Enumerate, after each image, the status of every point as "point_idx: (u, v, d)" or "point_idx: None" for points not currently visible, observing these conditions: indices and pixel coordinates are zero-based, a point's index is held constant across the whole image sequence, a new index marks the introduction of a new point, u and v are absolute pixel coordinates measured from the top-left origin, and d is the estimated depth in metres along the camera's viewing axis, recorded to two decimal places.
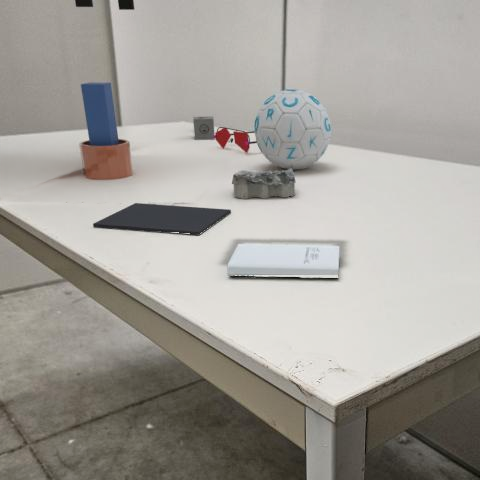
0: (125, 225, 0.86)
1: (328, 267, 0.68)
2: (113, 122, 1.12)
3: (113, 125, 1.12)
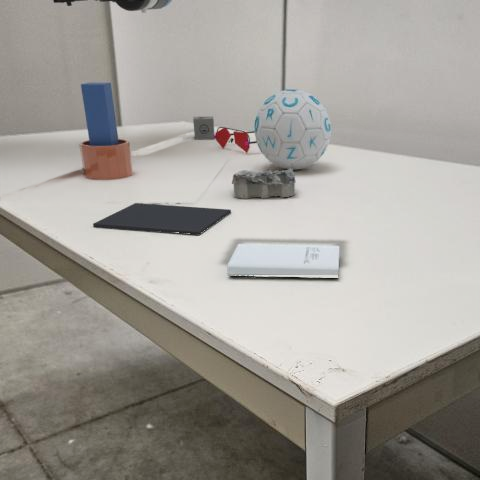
0: (125, 225, 0.86)
1: (328, 267, 0.68)
2: (113, 122, 1.12)
3: (113, 125, 1.12)
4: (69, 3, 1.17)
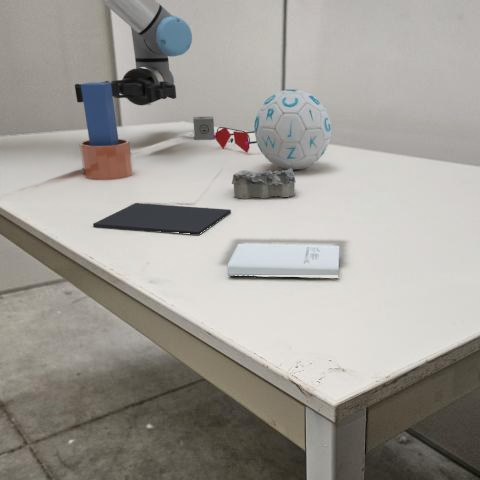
0: (125, 225, 0.86)
1: (328, 267, 0.68)
2: (113, 122, 1.12)
3: (113, 125, 1.12)
4: None
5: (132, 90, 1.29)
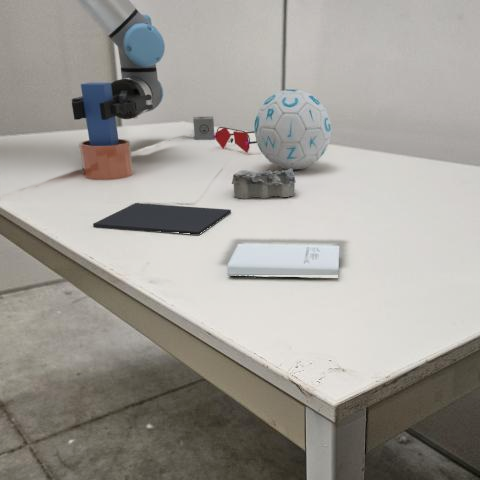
0: (125, 225, 0.86)
1: (328, 267, 0.68)
2: (113, 122, 1.12)
3: (113, 125, 1.12)
4: None
5: (115, 103, 1.19)
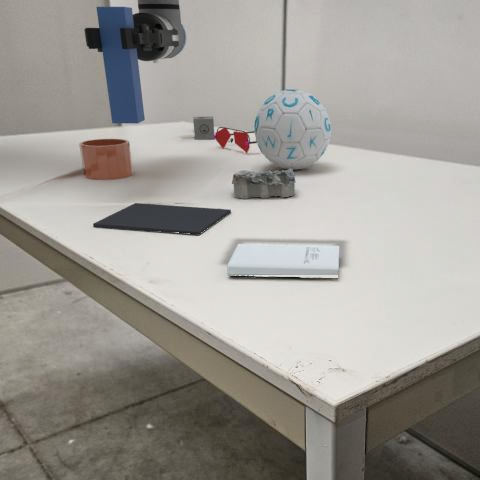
0: (125, 225, 0.86)
1: (328, 267, 0.68)
2: (134, 56, 0.93)
3: (134, 59, 0.93)
4: None
5: None
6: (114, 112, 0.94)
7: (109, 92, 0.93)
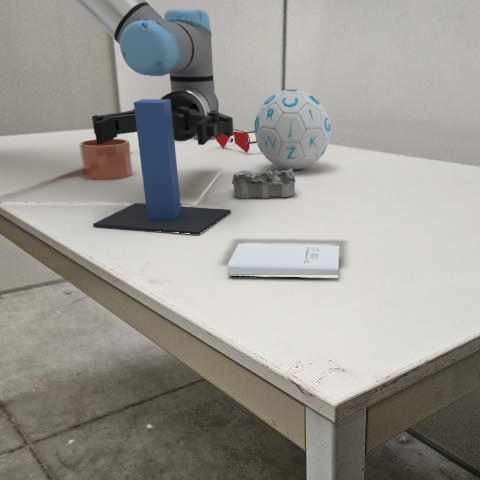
0: (125, 225, 0.86)
1: (328, 267, 0.68)
2: (172, 150, 0.87)
3: (172, 154, 0.86)
4: None
5: None
6: (149, 209, 0.88)
7: (145, 189, 0.87)
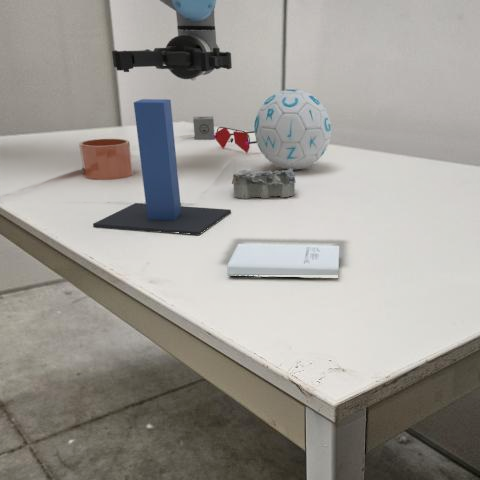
0: (125, 225, 0.86)
1: (328, 267, 0.68)
2: (172, 150, 0.87)
3: (172, 154, 0.86)
4: (126, 69, 1.05)
5: (178, 60, 1.09)
6: (149, 209, 0.88)
7: (145, 189, 0.87)
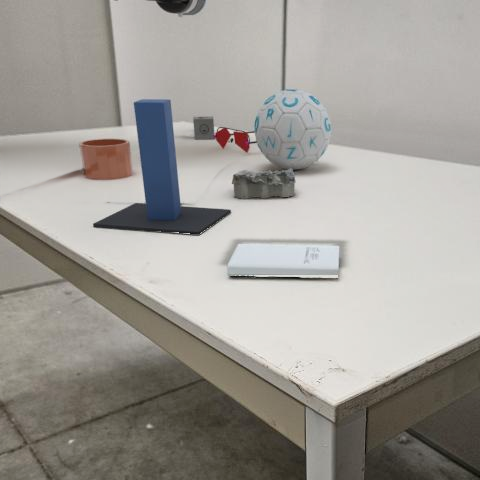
0: (125, 225, 0.86)
1: (328, 267, 0.68)
2: (172, 150, 0.87)
3: (172, 154, 0.86)
4: None
5: None
6: (149, 209, 0.88)
7: (145, 189, 0.87)
